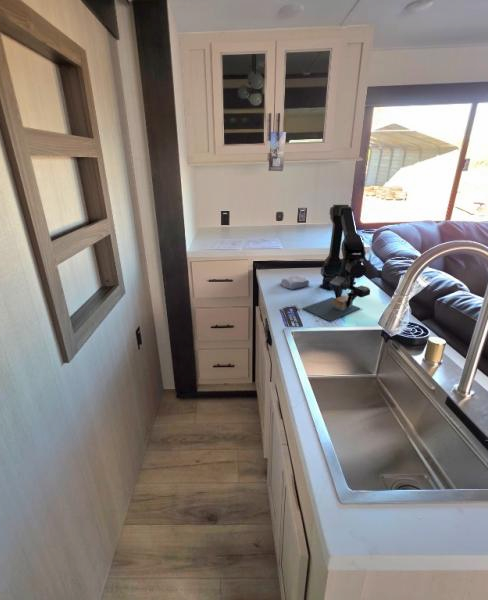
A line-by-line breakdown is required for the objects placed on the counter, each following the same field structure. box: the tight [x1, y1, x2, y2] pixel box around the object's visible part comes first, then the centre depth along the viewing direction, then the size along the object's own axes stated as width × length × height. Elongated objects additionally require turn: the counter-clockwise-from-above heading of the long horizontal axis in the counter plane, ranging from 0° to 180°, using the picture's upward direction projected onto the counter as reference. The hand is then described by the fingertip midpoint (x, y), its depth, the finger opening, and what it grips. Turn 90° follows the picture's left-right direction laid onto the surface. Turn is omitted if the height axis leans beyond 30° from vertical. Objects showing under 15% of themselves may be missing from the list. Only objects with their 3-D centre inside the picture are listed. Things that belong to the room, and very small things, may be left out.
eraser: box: [333, 294, 354, 311], centre depth 133 cm, size 7×4×4 cm, turn 125°
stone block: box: [280, 275, 310, 290], centre depth 158 cm, size 12×5×10 cm
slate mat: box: [302, 297, 361, 322], centre depth 133 cm, size 20×14×1 cm
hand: (342, 304), depth 134 cm, fingers closed on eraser, 4 cm apart
